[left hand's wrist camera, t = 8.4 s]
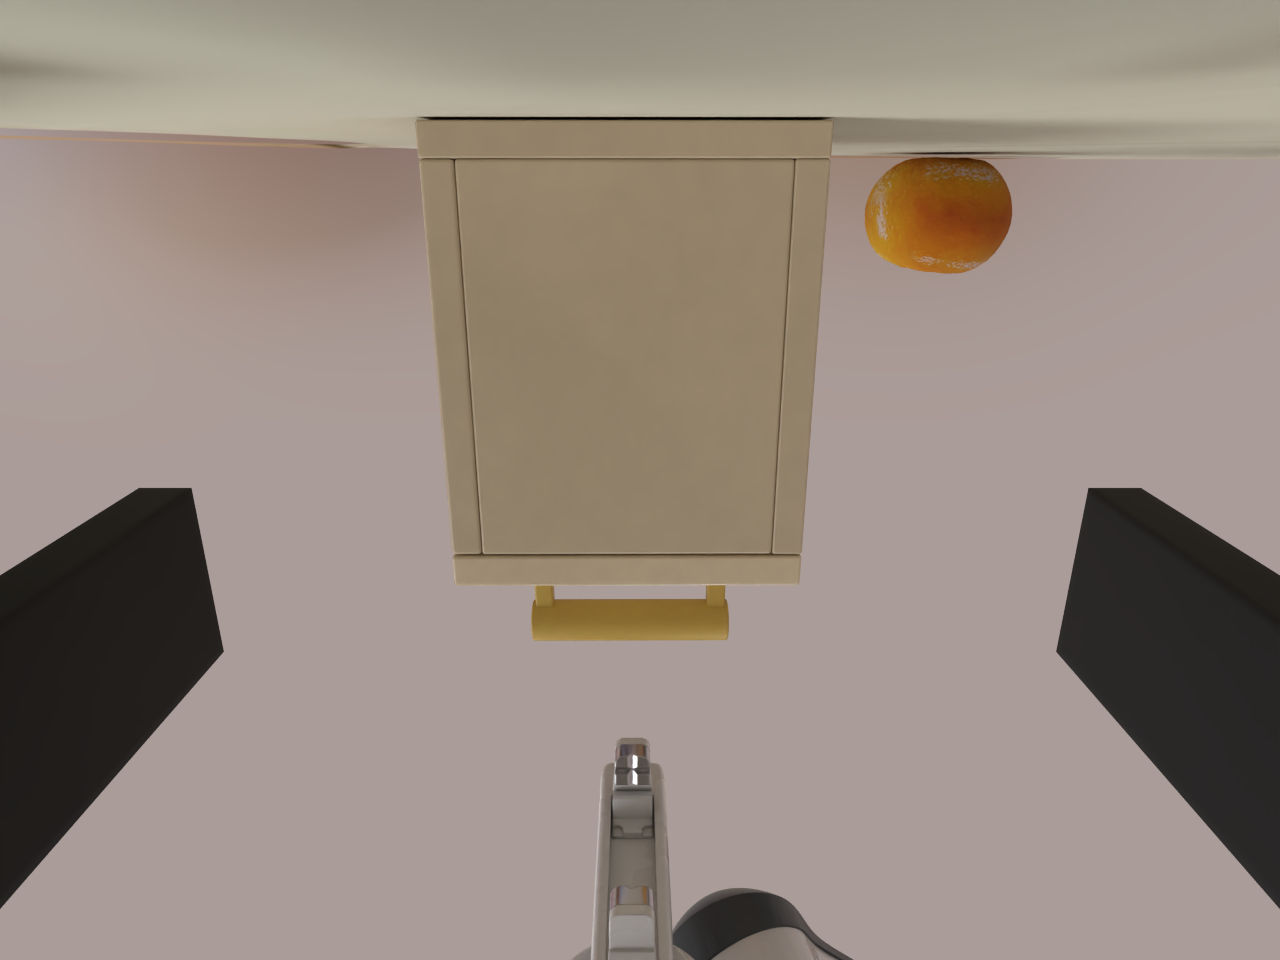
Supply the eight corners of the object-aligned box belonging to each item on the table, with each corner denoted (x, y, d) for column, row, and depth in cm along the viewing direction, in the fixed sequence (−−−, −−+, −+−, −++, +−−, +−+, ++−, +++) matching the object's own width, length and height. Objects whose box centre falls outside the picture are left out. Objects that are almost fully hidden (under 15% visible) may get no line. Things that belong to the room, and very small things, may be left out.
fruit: (819, 217, 53) (882, 320, 55) (930, 164, 46) (996, 286, 48) (886, 154, 57) (941, 254, 59) (997, 96, 50) (1056, 212, 52)
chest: (755, 140, 30) (743, 419, 34) (501, 140, 30) (516, 419, 34) (834, 120, 18) (801, 554, 22) (414, 119, 18) (451, 555, 22)
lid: (741, 416, 34) (733, 601, 37) (518, 416, 34) (527, 601, 37) (801, 556, 22) (782, 817, 25) (451, 557, 22) (474, 818, 25)
